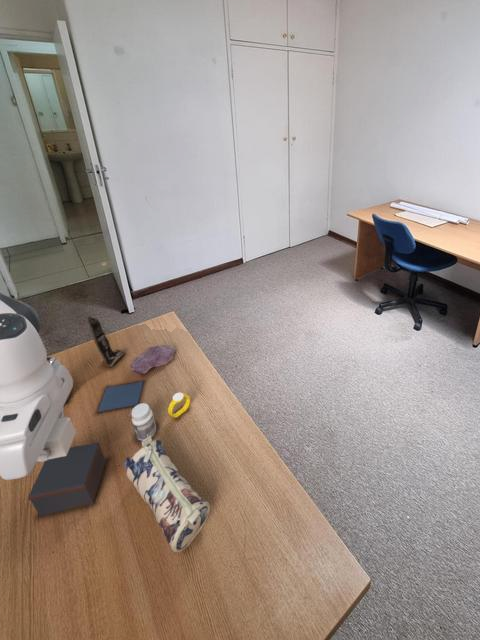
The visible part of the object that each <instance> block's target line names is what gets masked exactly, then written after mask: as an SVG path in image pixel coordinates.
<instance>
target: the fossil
mask: <svg viewBox="0 0 480 640" xmlns="http://www.w3.org/2000/svg"><path fill="white" fill-rule="evenodd" d="M175 352H176V348H175V346H174V345H164V344H161V345H159V346H156V345H155V346H152V347H149V348H147V349H145V350H144V351H143V352H141V353H140V354H138V355H137V356H136V357H135V358H134V359H133V360H132V361H131V363H130V370H131V371H132V372H133V373H137V374H139V375H143V374H147V372H149V371H150V369H152V368H153V367H157V368H159V367H161V366H164V365H165V366H166V365H167V364H169V363H170V361H172V360H173V359H174V357H175V356H174V355H175Z"/></svg>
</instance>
